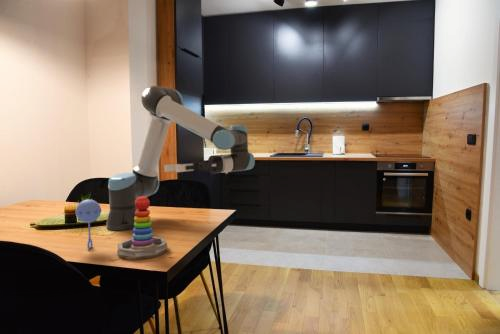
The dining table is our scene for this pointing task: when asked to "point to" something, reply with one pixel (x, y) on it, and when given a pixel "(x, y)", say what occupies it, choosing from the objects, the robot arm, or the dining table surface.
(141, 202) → the stacking toy
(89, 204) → the baby rattle
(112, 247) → the dining table surface
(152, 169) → the robot arm
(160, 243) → the plate
